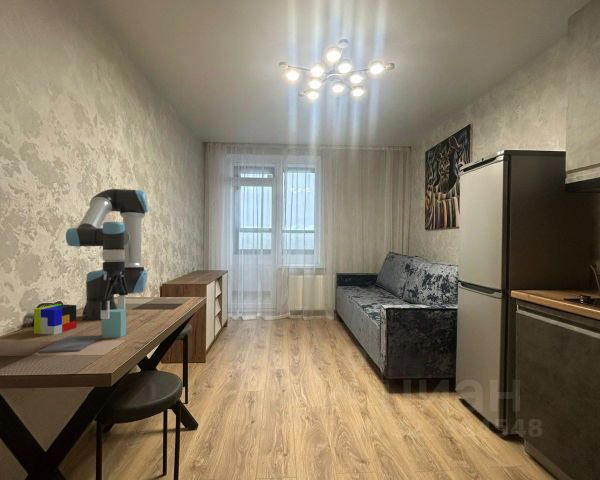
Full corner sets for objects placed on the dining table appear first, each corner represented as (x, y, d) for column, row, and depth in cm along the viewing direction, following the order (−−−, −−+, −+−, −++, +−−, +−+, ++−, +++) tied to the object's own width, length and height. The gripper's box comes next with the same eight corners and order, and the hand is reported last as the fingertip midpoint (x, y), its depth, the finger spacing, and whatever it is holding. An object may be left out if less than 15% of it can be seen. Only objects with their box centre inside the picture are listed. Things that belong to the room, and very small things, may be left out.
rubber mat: (67, 338, 123) (67, 336, 123) (103, 336, 124) (103, 335, 124) (38, 352, 107) (38, 350, 107) (79, 351, 108) (79, 349, 108)
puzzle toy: (54, 334, 127) (54, 309, 127) (34, 333, 129) (34, 308, 129) (76, 328, 137) (76, 305, 137) (57, 326, 139) (57, 304, 139)
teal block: (107, 334, 127) (107, 309, 127) (125, 333, 128) (125, 309, 128) (101, 338, 123) (101, 312, 123) (120, 337, 124) (120, 311, 124)
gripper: (118, 259, 137) (118, 308, 137) (85, 262, 113) (85, 322, 112) (136, 259, 138) (136, 308, 138) (108, 262, 113) (108, 321, 113)
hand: (113, 314), depth 125 cm, fingers open, 13 cm apart
